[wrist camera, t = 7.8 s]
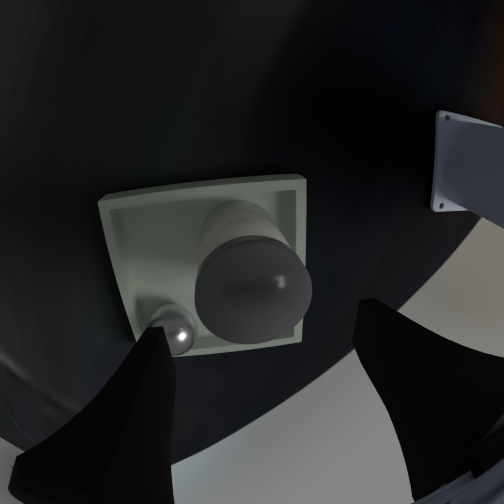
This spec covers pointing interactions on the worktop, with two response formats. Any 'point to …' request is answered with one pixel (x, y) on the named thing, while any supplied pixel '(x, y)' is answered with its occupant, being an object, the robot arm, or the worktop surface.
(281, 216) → the tray
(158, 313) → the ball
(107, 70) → the worktop surface
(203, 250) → the cylinder
